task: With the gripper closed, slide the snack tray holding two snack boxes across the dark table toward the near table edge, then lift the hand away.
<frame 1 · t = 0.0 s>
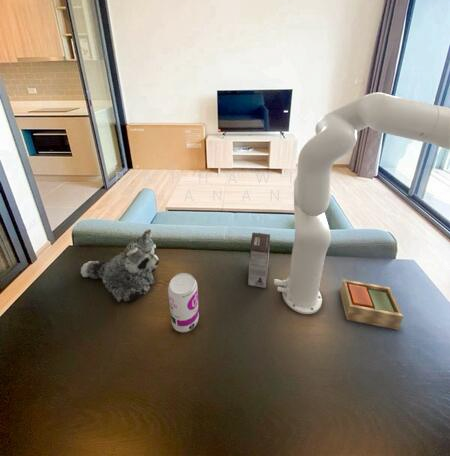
raccoon plush: (120, 284, 86), on the table
supplement can: (185, 320, 74), on the table
coffee box: (257, 277, 89), on the table
snack tray: (366, 309, 77), on the table
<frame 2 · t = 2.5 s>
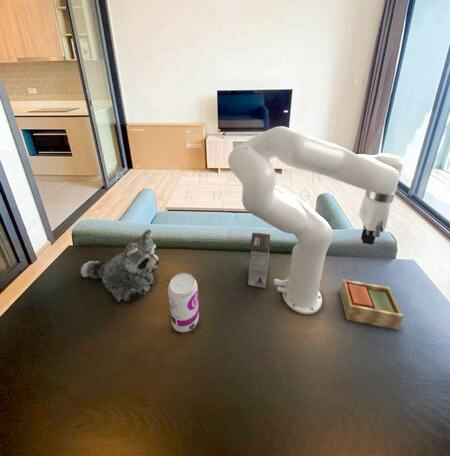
hand: (366, 241, 82), 17 cm above the table, tool pointing down, fingers closed
nothing on the table moved.
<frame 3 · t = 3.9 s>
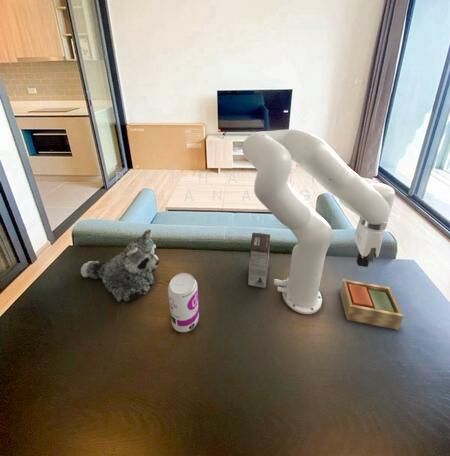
hand: (361, 264, 85), 7 cm above the table, tool pointing down, fingers closed
nothing on the table moved.
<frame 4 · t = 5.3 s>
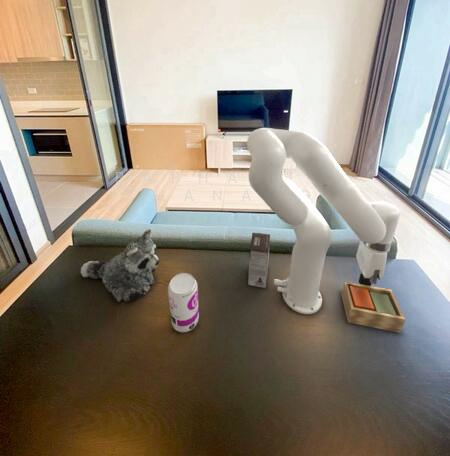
hand: (364, 284, 81), 4 cm above the table, tool pointing down, fingers closed
snack tray: (368, 311, 77), on the table, touching gripper
everything else where it was.
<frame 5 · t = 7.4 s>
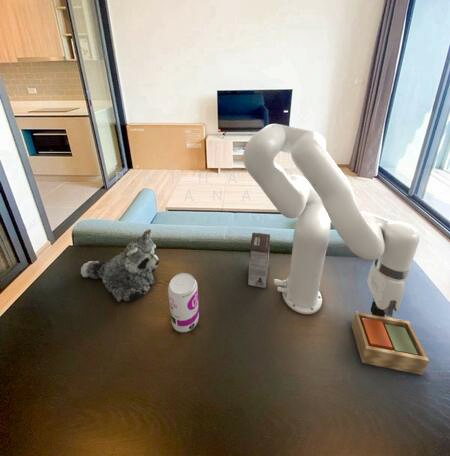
hand: (377, 314, 72), 4 cm above the table, tool pointing down, fingers closed
snack tray: (383, 347, 67), on the table, touching gripper
everything else where it was.
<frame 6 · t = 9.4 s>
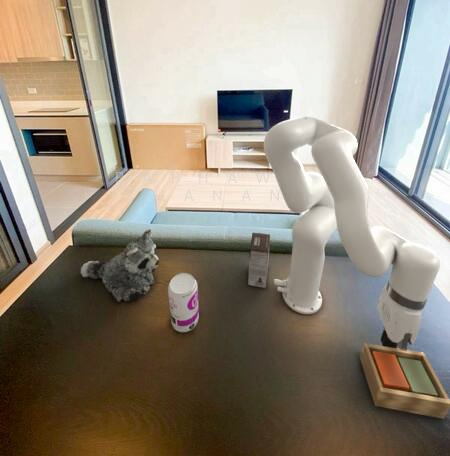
hand: (388, 344, 64), 4 cm above the table, tool pointing down, fingers closed
snack tray: (397, 384, 59), on the table, touching gripper
everything else where it was.
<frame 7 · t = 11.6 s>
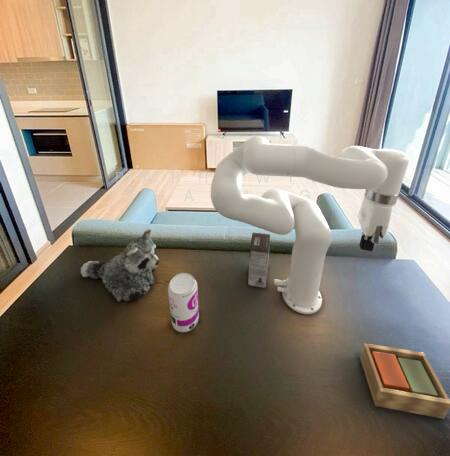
hand: (365, 248, 73), 21 cm above the table, tool pointing down, fingers closed
snack tray: (397, 385, 59), on the table
everything else where it was.
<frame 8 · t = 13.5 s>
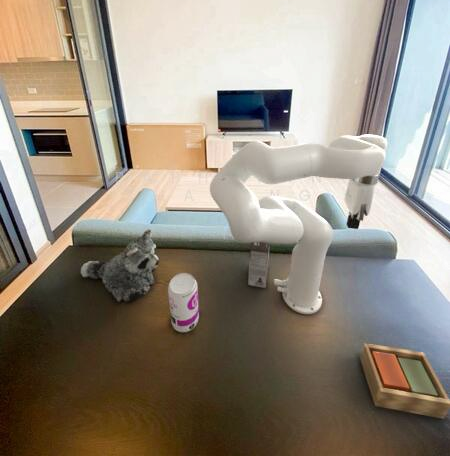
hand: (352, 226, 79), 23 cm above the table, tool pointing down, fingers closed
nothing on the table moved.
at the end: snack tray inside the target area (0.7 cm from its centre), on the table; snack tray tilted 0°; snack tray moved 19.7 cm from its start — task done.
